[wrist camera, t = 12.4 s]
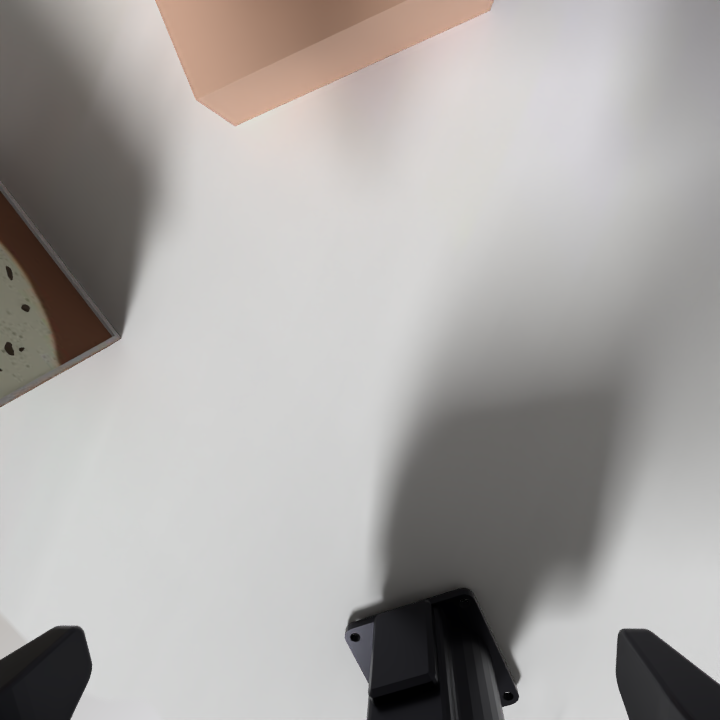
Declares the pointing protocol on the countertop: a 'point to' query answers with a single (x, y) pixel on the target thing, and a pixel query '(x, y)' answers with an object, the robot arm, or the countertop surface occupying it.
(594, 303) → the countertop surface
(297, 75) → the terracotta block
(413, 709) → the robot arm
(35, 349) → the food container
